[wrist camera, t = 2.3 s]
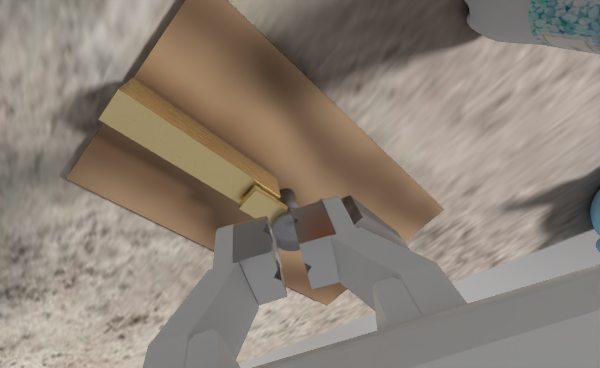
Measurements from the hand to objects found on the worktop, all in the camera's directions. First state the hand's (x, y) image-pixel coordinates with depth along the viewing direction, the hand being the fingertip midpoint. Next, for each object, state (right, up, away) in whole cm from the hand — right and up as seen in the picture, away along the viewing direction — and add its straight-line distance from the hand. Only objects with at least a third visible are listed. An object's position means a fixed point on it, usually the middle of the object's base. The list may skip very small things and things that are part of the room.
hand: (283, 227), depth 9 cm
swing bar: (-6, +3, +15) cm, 17 cm away
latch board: (-1, +1, +20) cm, 20 cm away
